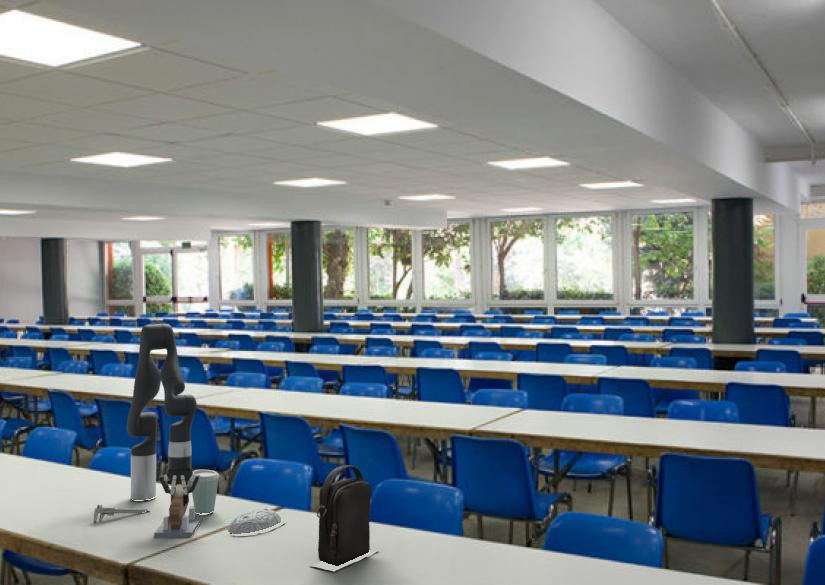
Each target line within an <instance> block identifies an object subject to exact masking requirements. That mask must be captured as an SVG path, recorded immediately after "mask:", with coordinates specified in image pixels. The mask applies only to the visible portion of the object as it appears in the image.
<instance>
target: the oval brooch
mask: <svg viewBox="0 0 825 585" xmlns="http://www.w3.org/2000/svg"><path fill="white" fill-rule="evenodd" d="M281 518H282V517H281V516H280V515H279V514H278V513H277V511H275V510H271V509H268V508H267V507H264V508H257V509H254V510H251V511H247V512H244V513H243V514H239V515H238V516H236V517H235V518H234V519H233V521H231V523H230V524H229V526H227V528H228V529H227V530H228V532H230V533H233V534H241V533H250V532H255V531H259V530H263V529H266V528H269V527H272V526H274V525H276V524H278V523H280V522H281Z"/></svg>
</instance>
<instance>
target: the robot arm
mask: <svg viewBox="0 0 825 585" xmlns="http://www.w3.org/2000/svg"><path fill="white" fill-rule="evenodd" d="M139 338H140V339H139V351H138V352H139V353H138V360H137V361H138V362H137V367H136V368H137V369H136V372H135V377H134V383H133V393H132V399H131V405H130V409H129V411H128V416H127V421H126V432H127V434H128V437H131V438H141V437H142V438H144V437H145V439H144V440H143V441H141V442H140V443H137V444H135V445H133V446H132V447H131V449H130V500H131V499H133V500H146V499H151V498H153V497H155V496H156V497H157V436H158V416H157V413H156V412H154V411H145V412H143V410H144V409H145V408H146V406H148V405H149V404H150V402H152V401H153V400H154V399H155V398H156V397H157V396H158V394H159V393H160V392H159V391H160V388H161V384H162V387H163V392H164V394H163V395H164V400H163V401H164V402H163V410H164V413H165V414H166V415H167V416H168V417H173V418H174V417H175V418H176V417H182V418H181V420H179V421H177V422H174V423H171V424H170V425H169V429H168V430H169V432H168V433H169V434H168V436H169V438H168V451H167V455H168V456H167V457H168V459H167V460H168V463H167V466H168V468H167V472H166V474H163V475H161V476H159V478H158V480H159V482H160V484H161V486H162V489H163V491H164V493H165V494H169V496H170V503H171V502H172V499H173V496H174V494H175V491H176V488H177V485H178V484H181V485H182V487H183V491H184V506H186V505H187V504H188V505H189V503H188V502H190V494H192V492H193V491H194V489H195V487H196V485H197V483H198V481H199V478H200V475H196V474H193V471H194V470H193V469H192V453H193V452H192V424H193V420H194V417H195V413H196V410H197V406H198V405H197V400H196V398H195V396H194V395H192V394H183V392H185V389H186V385H185V380H184V378H183V374H182V372H181V367H180V362H179V357H178V349H177V344H176V342H177V341H176V336H175V332H174V329H173V327H172V325H170V324H169V323H159V324H158V323H156V324H154V323H153V324H146V325H143V327H142V328H141V331H140V337H139ZM157 350H161V351H162V350H166V357H165V359H164V362H163V363H162V365H161V368H160V369H159V367H158V366H157V364H156V363H155V362H154V360H153V358H152V357H151V352H152V351H157ZM191 476H192V480H193V481H194V482H193V484H192V486H191V485H190V486H191V488H190V489H189V488H188V486H189V481H190V480H189V479H190V478H191ZM168 479H169V481H170V482H171V485H170V486H171V487H170V486H169V483H168Z"/></svg>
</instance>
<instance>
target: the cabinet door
mask: <svg viewBox="0 0 825 585" xmlns="http://www.w3.org/2000/svg"><path fill="white" fill-rule="evenodd" d="M188 488H189V489H190V488H191V485H188ZM189 502H190V501H189ZM189 502H188V504H187V505H186V506H184V491H183V487H182V485H181V484H178V485H177V487H176V491H175V494H174V496H173V499H172V502H171V501H170V505H169V508H168V513H169V514H168V516H170V528H171V530H172V529H180V528H181V525H182V517H183V516H184V515H186V512H187V509H188V506H189Z"/></svg>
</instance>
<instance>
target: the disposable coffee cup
mask: <svg viewBox="0 0 825 585" xmlns="http://www.w3.org/2000/svg"><path fill="white" fill-rule="evenodd" d="M192 471H193V474H196V475H200V478H199V481H198V483H197V485H196V487H195V489H194V491H193V492H192V493H191V495H192V502H193V506H195V514H196V513H200V514H202V513H210V512H212V511H213V512H214V511H215V506H216V500H217V499H216V498H217V494H218V493H217V492H218V485H219V478H220V474H219V473H218V471H215V470H210V469H195V470H192ZM188 481H189V482H190V486H192V484H193V482H194V481H193V480H192V476H191V478H190V479H189V480H188Z"/></svg>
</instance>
